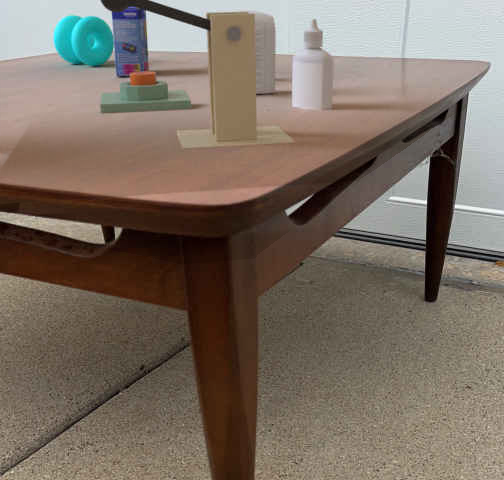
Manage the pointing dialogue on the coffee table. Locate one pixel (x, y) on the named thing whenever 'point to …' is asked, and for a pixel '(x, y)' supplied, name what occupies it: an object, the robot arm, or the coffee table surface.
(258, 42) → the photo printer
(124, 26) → the ink cartridge box
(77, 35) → the cyan double wheel
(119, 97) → the button box
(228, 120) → the bracket
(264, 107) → the coffee table surface
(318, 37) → the eye dropper bottle
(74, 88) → the coffee table surface
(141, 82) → the button
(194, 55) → the coffee table surface
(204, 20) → the lever
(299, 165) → the coffee table surface
